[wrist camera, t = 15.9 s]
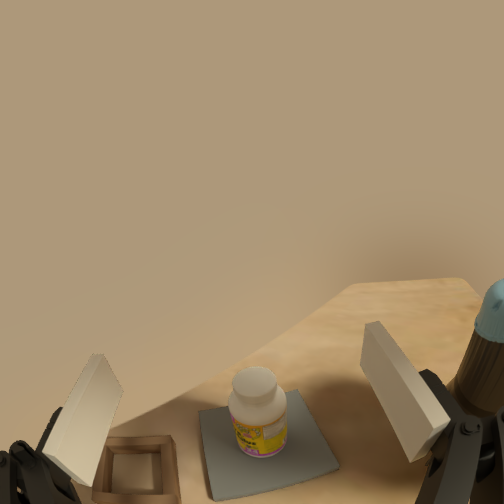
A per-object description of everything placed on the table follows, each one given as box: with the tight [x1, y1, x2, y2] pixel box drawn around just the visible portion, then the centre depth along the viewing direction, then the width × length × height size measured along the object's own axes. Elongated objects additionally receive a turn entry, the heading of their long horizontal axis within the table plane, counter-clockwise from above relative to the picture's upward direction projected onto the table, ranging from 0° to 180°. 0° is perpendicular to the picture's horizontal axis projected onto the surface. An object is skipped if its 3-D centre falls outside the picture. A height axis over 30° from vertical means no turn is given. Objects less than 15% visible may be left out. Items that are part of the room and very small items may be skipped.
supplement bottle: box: [228, 366, 287, 458], centre depth 29 cm, size 7×7×13 cm
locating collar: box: [92, 435, 182, 504], centre depth 25 cm, size 12×12×2 cm
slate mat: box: [198, 389, 340, 502], centre depth 31 cm, size 16×16×1 cm
